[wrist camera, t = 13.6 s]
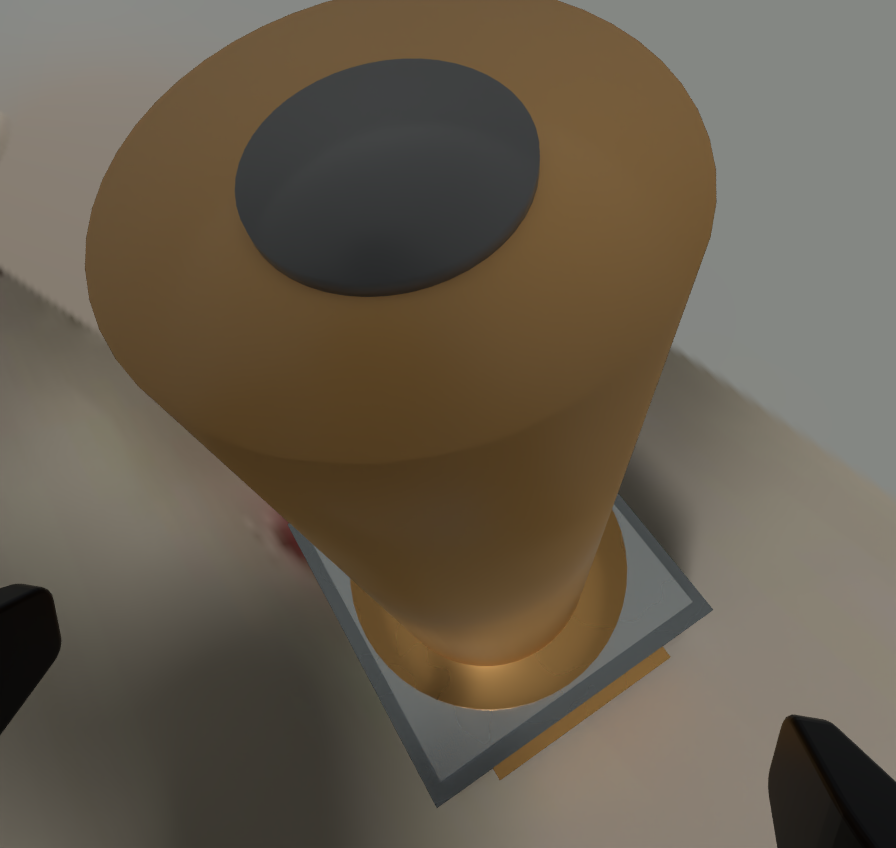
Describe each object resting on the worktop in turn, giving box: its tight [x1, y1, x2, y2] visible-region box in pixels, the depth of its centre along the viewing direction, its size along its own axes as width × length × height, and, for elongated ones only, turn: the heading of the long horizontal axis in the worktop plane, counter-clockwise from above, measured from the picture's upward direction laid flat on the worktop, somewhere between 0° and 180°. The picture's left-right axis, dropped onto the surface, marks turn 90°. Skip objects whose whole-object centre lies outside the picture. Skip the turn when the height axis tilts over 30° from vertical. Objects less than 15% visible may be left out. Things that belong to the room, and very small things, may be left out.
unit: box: [288, 494, 713, 808], centre depth 18 cm, size 8×8×3 cm
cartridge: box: [85, 0, 716, 666], centre depth 11 cm, size 5×5×13 cm
